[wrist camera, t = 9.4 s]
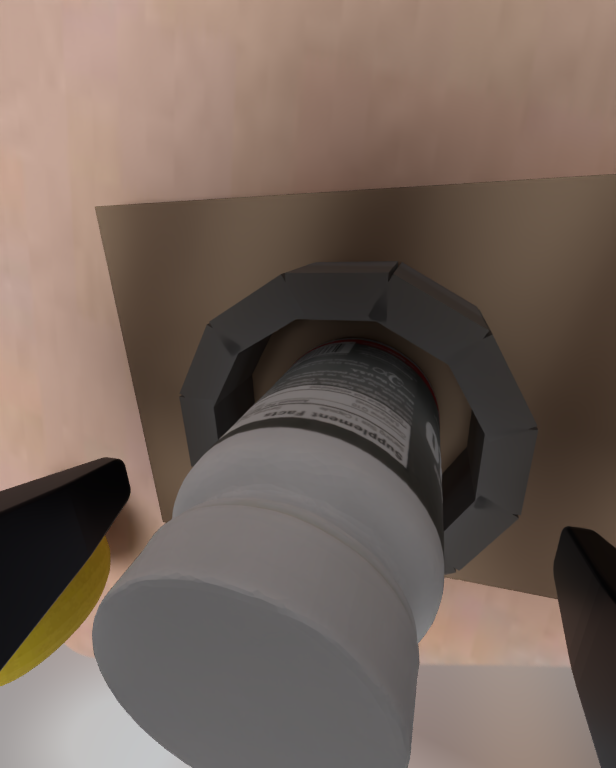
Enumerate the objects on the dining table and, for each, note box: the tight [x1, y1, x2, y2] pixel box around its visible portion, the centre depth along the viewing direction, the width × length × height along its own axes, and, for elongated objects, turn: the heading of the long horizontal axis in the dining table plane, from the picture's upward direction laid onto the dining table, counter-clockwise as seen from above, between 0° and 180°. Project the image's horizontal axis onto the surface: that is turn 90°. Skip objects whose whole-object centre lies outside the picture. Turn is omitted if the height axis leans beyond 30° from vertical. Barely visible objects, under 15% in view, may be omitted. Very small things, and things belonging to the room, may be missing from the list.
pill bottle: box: [92, 338, 444, 768], centre depth 8 cm, size 5×5×8 cm
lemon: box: [0, 536, 110, 686], centre depth 16 cm, size 6×6×8 cm
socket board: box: [95, 174, 616, 599], centre depth 11 cm, size 16×12×4 cm
